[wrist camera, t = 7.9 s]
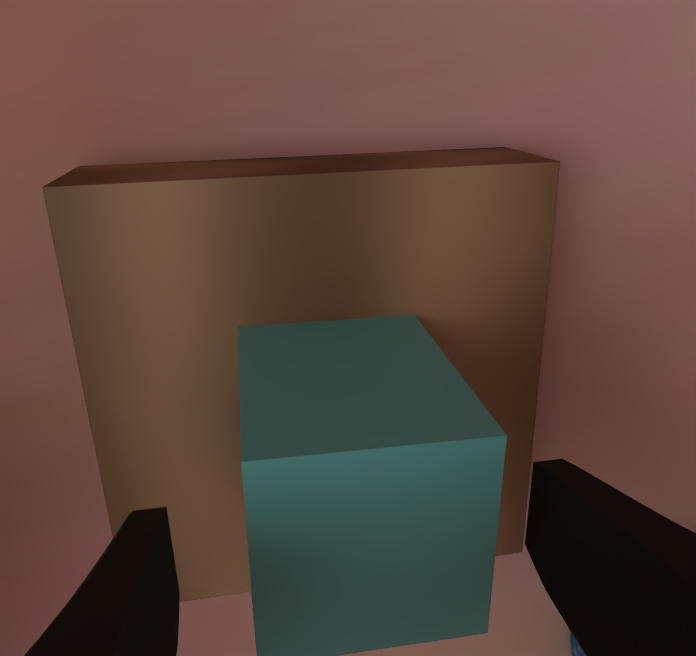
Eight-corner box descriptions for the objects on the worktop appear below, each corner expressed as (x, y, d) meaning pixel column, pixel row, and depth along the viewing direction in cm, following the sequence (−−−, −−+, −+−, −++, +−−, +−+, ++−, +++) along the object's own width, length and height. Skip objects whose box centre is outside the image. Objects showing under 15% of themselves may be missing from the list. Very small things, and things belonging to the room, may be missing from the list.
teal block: (249, 480, 17) (258, 666, 12) (237, 326, 16) (241, 462, 10) (409, 463, 18) (487, 632, 13) (414, 314, 16) (506, 435, 11)
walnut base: (144, 520, 22) (127, 609, 18) (81, 164, 17) (42, 187, 14) (477, 478, 24) (522, 551, 20) (497, 145, 19) (559, 161, 16)
